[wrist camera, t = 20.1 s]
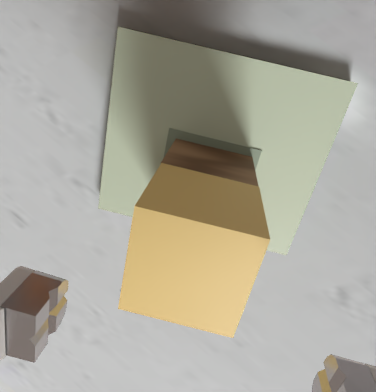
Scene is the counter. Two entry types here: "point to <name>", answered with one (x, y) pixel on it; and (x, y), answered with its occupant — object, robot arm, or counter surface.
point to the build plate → (219, 122)
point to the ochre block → (194, 250)
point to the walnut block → (211, 161)
